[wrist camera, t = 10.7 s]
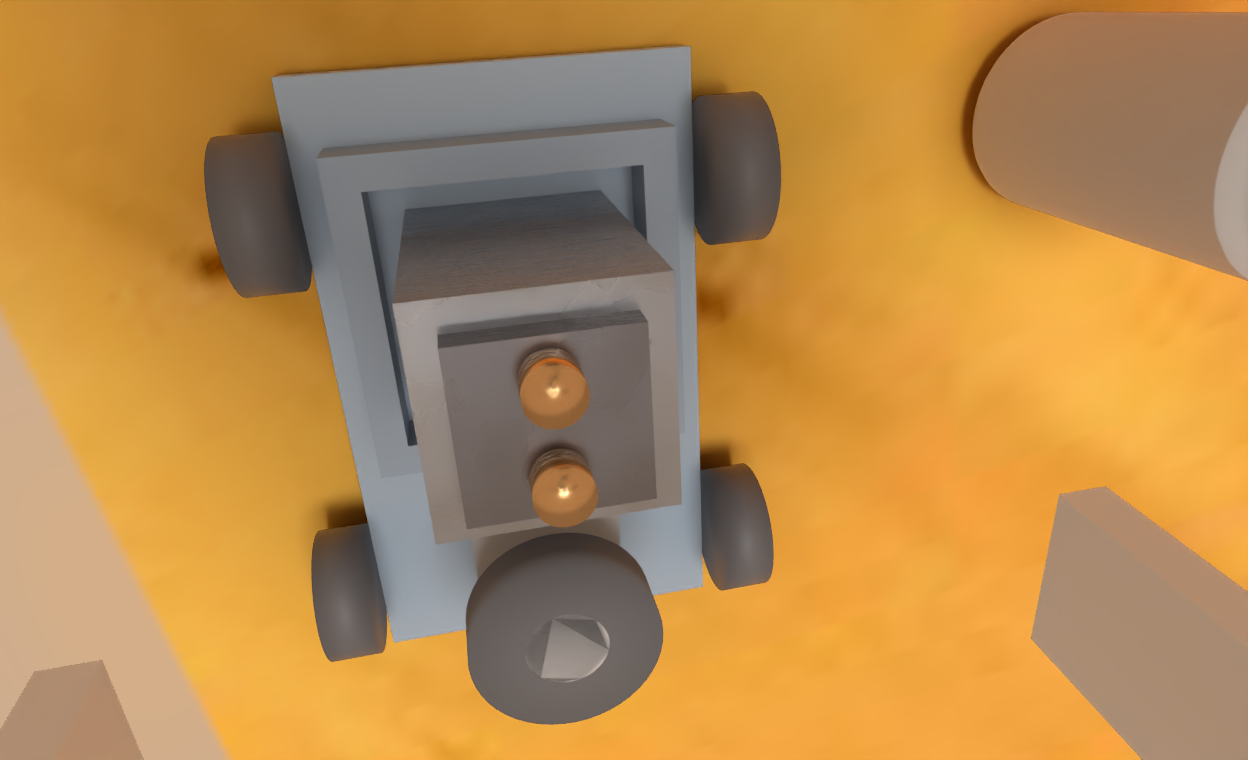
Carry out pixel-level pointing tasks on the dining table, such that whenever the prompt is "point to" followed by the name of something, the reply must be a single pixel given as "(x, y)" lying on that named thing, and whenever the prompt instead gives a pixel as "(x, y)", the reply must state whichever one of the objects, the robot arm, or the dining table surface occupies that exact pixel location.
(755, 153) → the chassis
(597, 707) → the spare wheel
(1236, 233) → the beverage can
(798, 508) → the dining table surface
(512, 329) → the twin lamp box
